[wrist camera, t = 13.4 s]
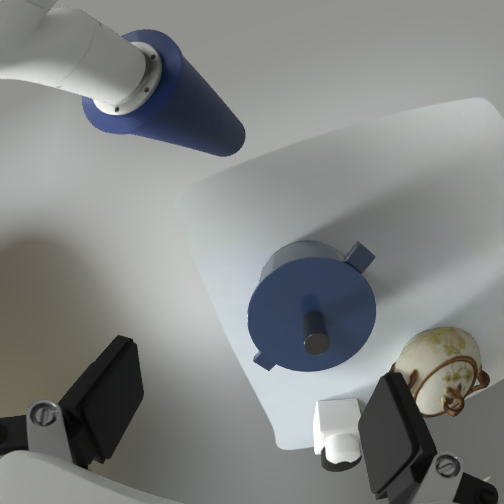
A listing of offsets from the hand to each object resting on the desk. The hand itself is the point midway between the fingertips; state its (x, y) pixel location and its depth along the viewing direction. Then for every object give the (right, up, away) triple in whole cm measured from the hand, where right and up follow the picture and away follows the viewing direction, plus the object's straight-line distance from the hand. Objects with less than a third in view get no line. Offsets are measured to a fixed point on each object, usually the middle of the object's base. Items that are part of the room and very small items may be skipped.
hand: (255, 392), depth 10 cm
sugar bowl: (+27, -11, +28) cm, 41 cm away
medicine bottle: (+14, -23, +33) cm, 43 cm away
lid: (+6, -2, +19) cm, 20 cm away
